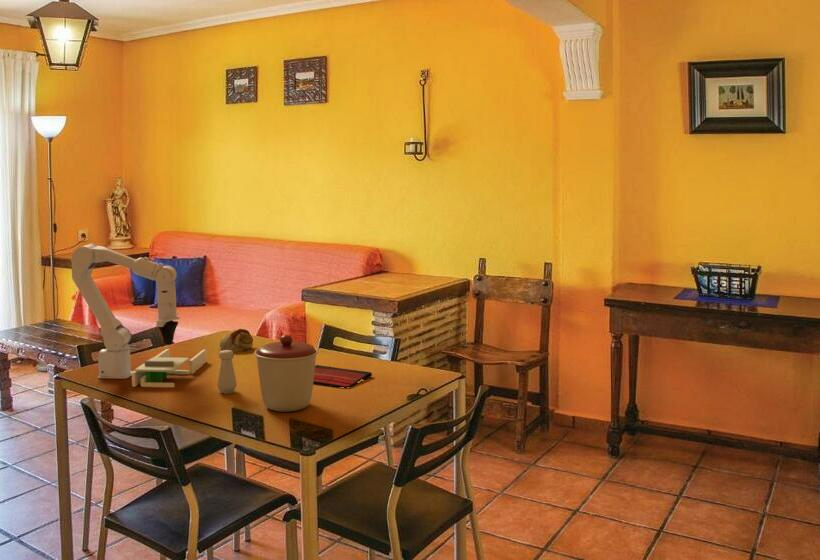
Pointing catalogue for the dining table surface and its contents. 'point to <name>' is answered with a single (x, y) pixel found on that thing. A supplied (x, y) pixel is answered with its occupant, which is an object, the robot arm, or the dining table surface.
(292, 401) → the canister
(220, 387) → the salt shaker
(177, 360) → the door
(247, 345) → the pastry
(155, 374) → the pipe clamp
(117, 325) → the robot arm
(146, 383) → the housing
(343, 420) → the dining table surface
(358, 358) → the dining table surface
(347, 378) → the binder
